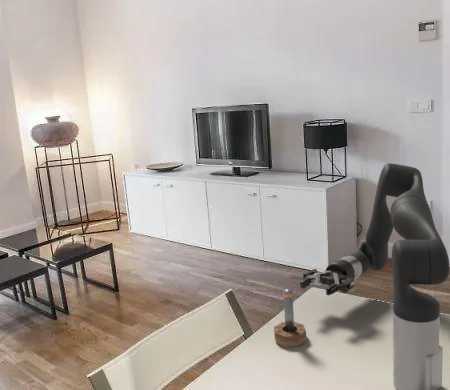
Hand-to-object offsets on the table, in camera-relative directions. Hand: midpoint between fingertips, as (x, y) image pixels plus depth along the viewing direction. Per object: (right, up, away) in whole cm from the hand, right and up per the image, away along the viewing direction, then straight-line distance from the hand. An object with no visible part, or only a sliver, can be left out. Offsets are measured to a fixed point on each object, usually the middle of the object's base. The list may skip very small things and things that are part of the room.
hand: (314, 288), depth 137 cm
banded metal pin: (-7, -12, -5) cm, 15 cm away
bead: (-7, -12, -5) cm, 15 cm away
